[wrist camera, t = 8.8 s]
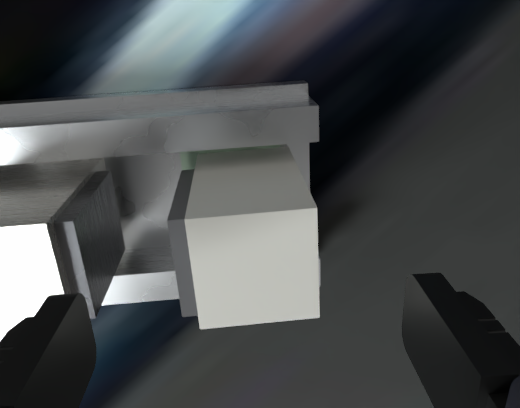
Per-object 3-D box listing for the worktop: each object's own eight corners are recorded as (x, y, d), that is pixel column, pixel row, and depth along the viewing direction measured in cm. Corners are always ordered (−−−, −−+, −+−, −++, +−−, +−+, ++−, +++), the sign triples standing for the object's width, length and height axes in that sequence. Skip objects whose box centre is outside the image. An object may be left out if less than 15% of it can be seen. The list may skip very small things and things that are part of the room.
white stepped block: (304, 80, 20) (348, 117, 13) (308, 258, 24) (344, 368, 16) (-19, 102, 20) (-165, 154, 12) (32, 282, 23) (-58, 406, 16)
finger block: (288, 146, 20) (317, 207, 14) (292, 228, 22) (319, 317, 15) (183, 155, 20) (164, 221, 14) (195, 236, 22) (181, 331, 15)
